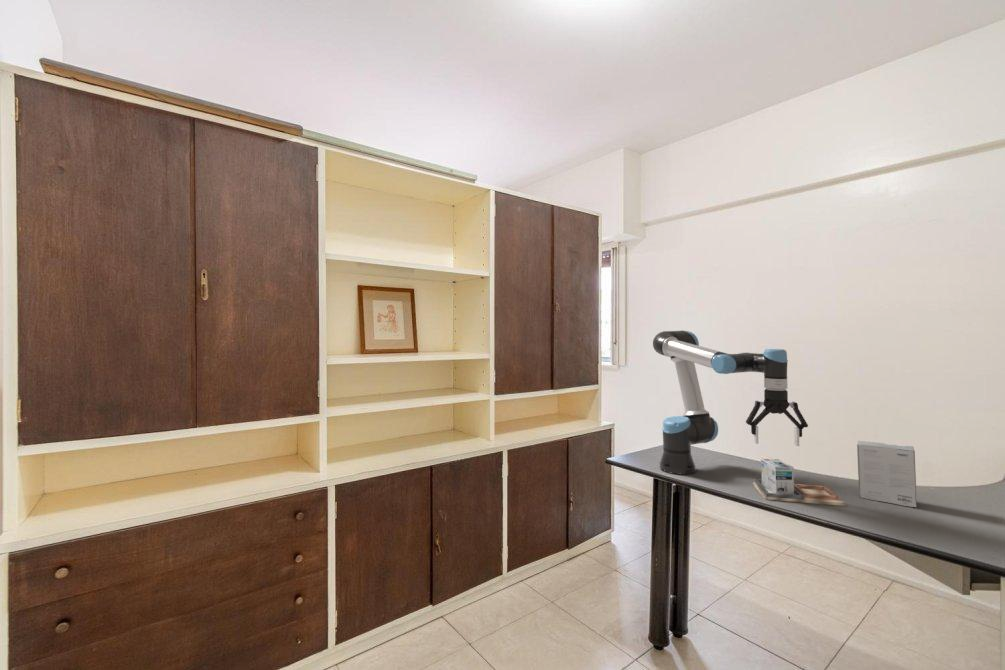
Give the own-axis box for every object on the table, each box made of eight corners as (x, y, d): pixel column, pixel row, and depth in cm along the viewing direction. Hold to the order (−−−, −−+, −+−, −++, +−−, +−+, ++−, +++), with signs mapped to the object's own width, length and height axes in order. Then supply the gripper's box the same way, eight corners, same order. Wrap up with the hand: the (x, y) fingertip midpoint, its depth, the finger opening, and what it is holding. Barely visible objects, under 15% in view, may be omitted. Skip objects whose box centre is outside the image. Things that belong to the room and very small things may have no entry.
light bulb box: (795, 495, 155) (794, 466, 155) (776, 495, 156) (775, 466, 156) (778, 485, 166) (777, 458, 166) (760, 485, 166) (760, 458, 166)
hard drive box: (916, 501, 150) (914, 446, 150) (917, 508, 144) (915, 451, 144) (859, 491, 160) (858, 439, 160) (858, 497, 155) (856, 443, 155)
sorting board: (765, 499, 155) (765, 493, 155) (753, 484, 170) (753, 478, 170) (845, 506, 148) (845, 499, 148) (825, 489, 163) (825, 484, 163)
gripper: (741, 389, 161) (742, 444, 161) (818, 391, 153) (818, 448, 154) (737, 387, 168) (737, 439, 168) (809, 388, 161) (810, 443, 161)
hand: (776, 444), depth 161 cm, fingers open, 13 cm apart
